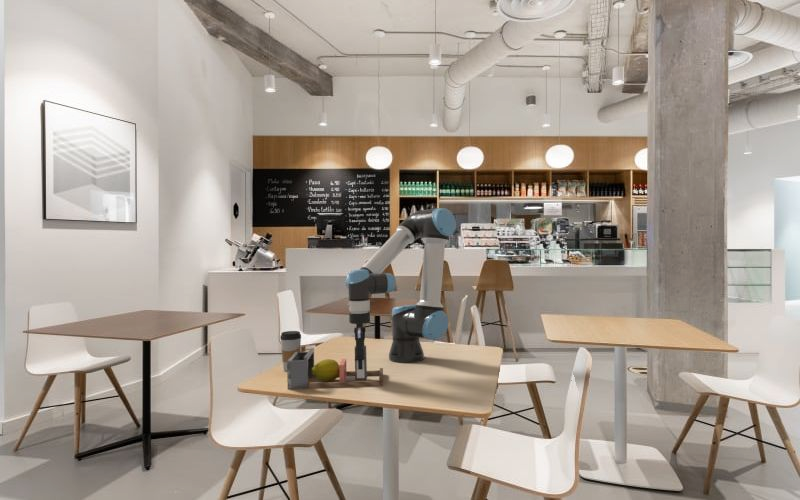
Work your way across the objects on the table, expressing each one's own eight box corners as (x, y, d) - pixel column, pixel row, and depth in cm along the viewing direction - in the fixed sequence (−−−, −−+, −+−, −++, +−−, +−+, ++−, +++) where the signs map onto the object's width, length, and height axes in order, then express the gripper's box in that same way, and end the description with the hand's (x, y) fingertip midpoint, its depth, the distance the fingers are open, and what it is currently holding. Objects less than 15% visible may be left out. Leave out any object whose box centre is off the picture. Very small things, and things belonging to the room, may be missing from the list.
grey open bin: (314, 376, 181) (313, 348, 181) (307, 388, 166) (307, 357, 166) (296, 376, 181) (295, 348, 181) (287, 388, 166) (286, 358, 166)
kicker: (367, 375, 179) (366, 343, 179) (366, 383, 169) (365, 349, 169) (342, 376, 179) (341, 344, 179) (339, 384, 169) (338, 350, 169)
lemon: (340, 377, 179) (339, 356, 179) (343, 382, 172) (343, 360, 172) (310, 380, 176) (310, 358, 176) (313, 386, 168) (312, 363, 168)
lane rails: (383, 374, 182) (382, 368, 182) (382, 385, 167) (382, 378, 167) (314, 376, 181) (314, 370, 181) (308, 388, 166) (307, 381, 166)
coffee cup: (296, 372, 188) (296, 334, 188) (277, 372, 190) (276, 334, 190) (305, 367, 196) (304, 330, 196) (286, 366, 198) (285, 330, 198)
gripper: (350, 309, 183) (352, 370, 183) (347, 315, 166) (349, 383, 166) (370, 308, 183) (372, 369, 183) (368, 314, 166) (370, 382, 166)
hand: (361, 375), depth 174 cm, fingers closed on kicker, 4 cm apart
